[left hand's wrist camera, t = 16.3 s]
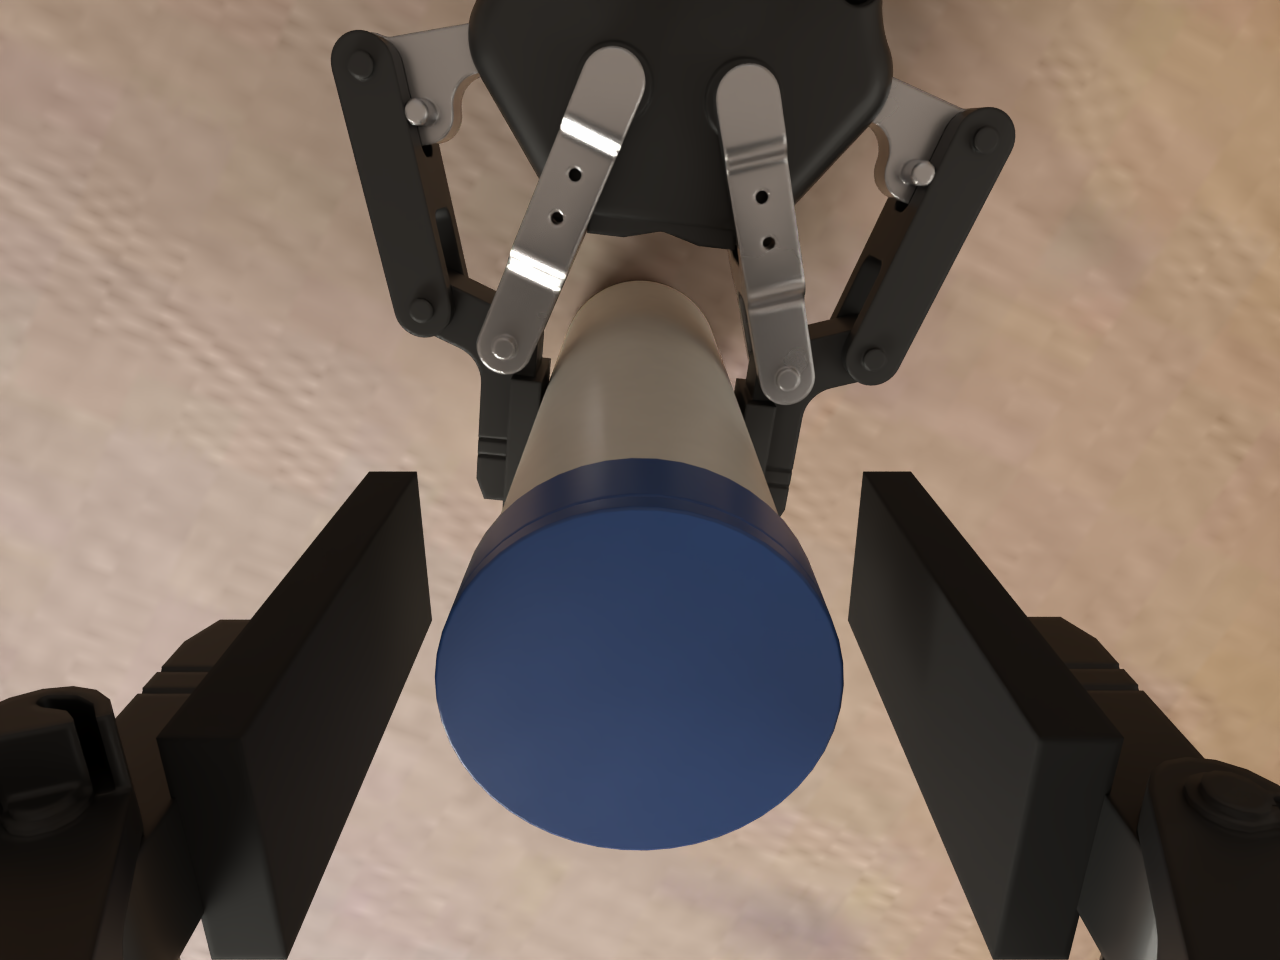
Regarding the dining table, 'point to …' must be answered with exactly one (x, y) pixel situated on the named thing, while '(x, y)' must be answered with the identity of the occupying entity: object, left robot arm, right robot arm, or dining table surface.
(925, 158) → the right robot arm
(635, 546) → the lid
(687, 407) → the jar
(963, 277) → the dining table surface
